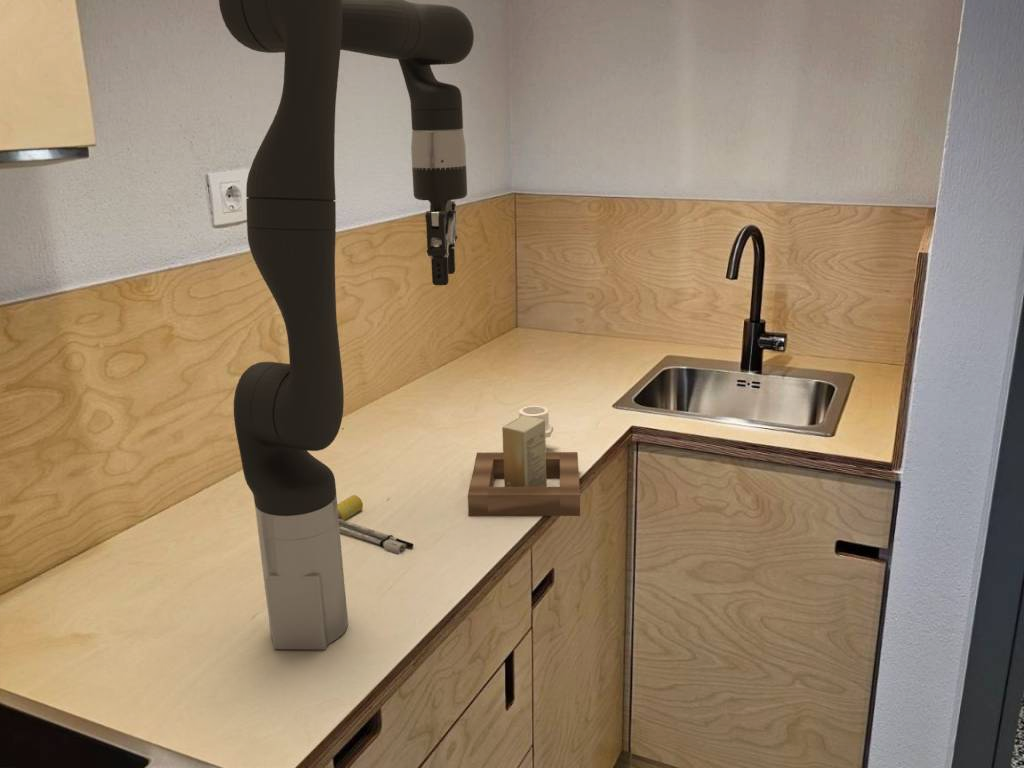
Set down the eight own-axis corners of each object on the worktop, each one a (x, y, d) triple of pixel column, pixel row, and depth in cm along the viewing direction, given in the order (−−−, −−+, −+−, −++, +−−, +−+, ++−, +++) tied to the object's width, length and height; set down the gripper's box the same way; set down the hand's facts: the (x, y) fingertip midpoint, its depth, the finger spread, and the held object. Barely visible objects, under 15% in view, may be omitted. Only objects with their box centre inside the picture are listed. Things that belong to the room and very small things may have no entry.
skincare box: (525, 483, 148) (524, 414, 144) (547, 489, 145) (546, 418, 142) (502, 497, 143) (500, 425, 139) (525, 504, 140) (523, 431, 137)
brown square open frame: (580, 515, 136) (580, 494, 135) (468, 516, 137) (467, 495, 136) (577, 471, 152) (577, 452, 151) (477, 471, 153) (477, 452, 152)
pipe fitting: (559, 456, 159) (559, 413, 156) (521, 461, 157) (520, 418, 154) (547, 443, 164) (546, 402, 162) (510, 449, 162) (508, 407, 160)
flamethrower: (296, 490, 147) (249, 516, 139) (294, 475, 146) (247, 500, 139) (438, 535, 132) (394, 567, 125) (437, 519, 131) (393, 550, 124)
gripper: (460, 166, 117) (465, 288, 122) (470, 159, 131) (474, 269, 136) (403, 168, 118) (410, 289, 123) (419, 160, 131) (425, 270, 136)
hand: (444, 279), depth 129 cm, fingers open, 8 cm apart
